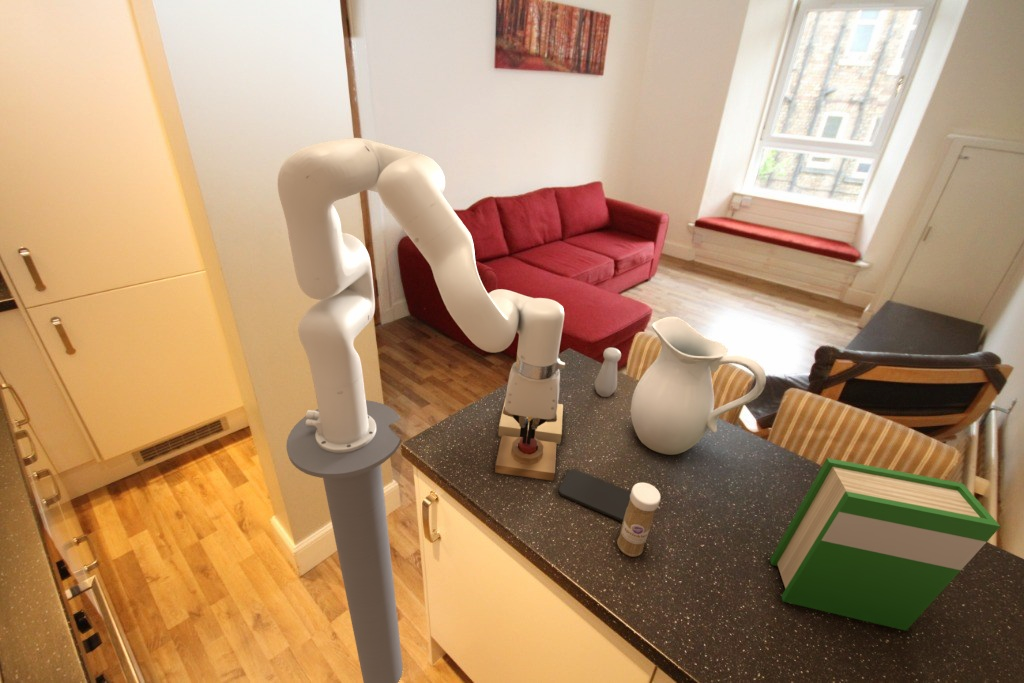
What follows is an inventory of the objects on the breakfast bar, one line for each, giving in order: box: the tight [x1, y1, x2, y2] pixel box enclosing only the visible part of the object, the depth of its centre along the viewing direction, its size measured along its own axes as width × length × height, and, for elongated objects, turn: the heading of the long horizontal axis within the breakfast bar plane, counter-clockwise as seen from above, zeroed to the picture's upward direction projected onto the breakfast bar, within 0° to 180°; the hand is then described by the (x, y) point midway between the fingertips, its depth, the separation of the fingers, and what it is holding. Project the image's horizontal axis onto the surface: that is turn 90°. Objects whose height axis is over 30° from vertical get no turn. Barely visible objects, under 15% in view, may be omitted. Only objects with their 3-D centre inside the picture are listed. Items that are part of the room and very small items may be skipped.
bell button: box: [519, 437, 537, 454], centre depth 92 cm, size 4×4×2 cm
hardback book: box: [769, 457, 1001, 631], centre depth 67 cm, size 18×7×24 cm, turn 78°
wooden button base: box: [494, 435, 557, 482], centre depth 93 cm, size 12×9×4 cm
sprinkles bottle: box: [616, 482, 662, 558], centre depth 75 cm, size 5×5×14 cm
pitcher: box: [630, 316, 767, 456], centre depth 94 cm, size 24×17×28 cm
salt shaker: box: [594, 347, 622, 398], centre depth 115 cm, size 6×6×13 cm
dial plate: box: [497, 397, 564, 445], centre depth 104 cm, size 14×11×3 cm
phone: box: [558, 468, 631, 523], centre depth 87 cm, size 7×1×15 cm
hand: (526, 439), depth 91 cm, fingers closed
